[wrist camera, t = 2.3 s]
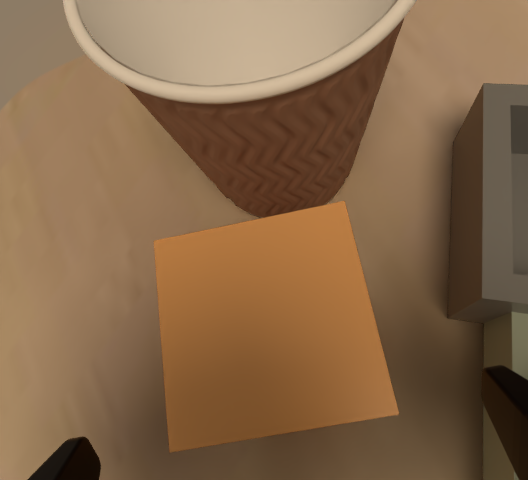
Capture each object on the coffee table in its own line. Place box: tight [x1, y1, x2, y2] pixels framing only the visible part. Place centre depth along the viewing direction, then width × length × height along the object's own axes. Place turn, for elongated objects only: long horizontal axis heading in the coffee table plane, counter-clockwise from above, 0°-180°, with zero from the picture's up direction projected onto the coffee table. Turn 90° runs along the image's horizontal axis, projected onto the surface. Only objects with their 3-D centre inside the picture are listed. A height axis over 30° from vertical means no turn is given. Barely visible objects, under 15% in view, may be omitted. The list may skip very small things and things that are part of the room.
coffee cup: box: [63, 0, 417, 218], centre depth 17 cm, size 10×10×12 cm
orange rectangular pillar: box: [154, 201, 399, 453], centre depth 14 cm, size 5×5×10 cm
